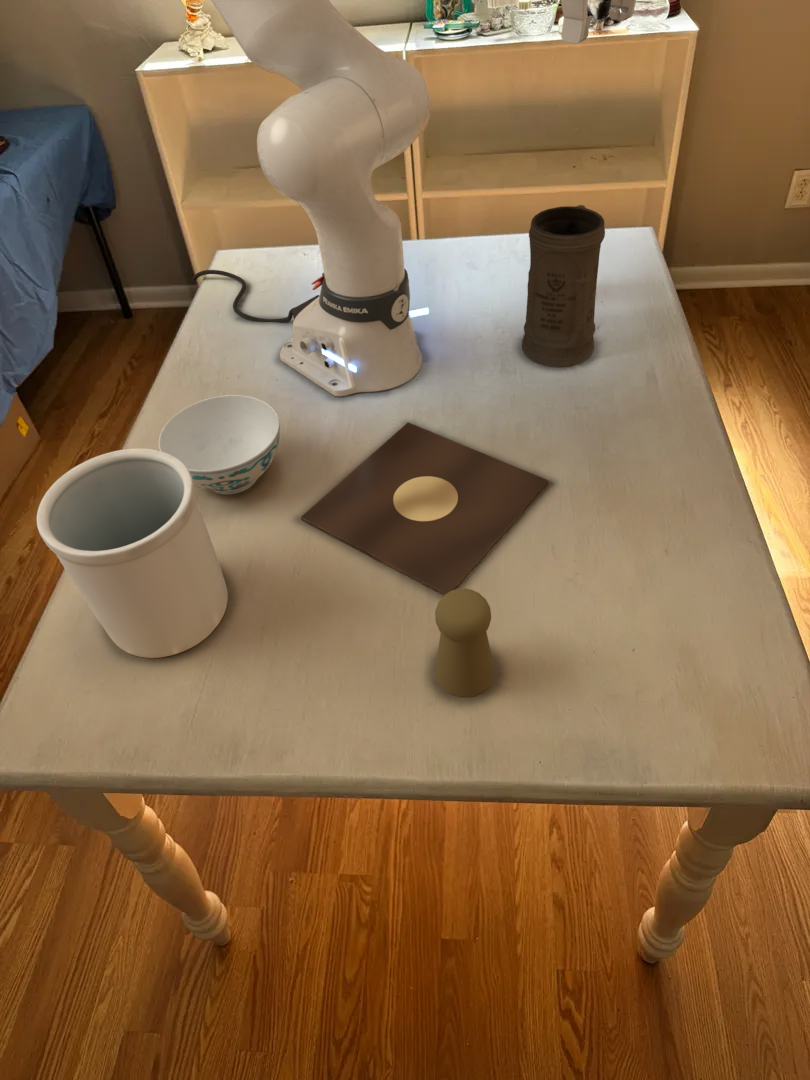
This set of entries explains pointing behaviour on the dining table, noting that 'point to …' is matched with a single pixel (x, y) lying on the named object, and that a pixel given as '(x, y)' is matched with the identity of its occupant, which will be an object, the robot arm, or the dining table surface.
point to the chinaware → (223, 441)
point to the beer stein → (562, 285)
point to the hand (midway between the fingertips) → (597, 29)
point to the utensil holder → (137, 549)
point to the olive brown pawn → (463, 643)
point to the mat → (426, 506)
